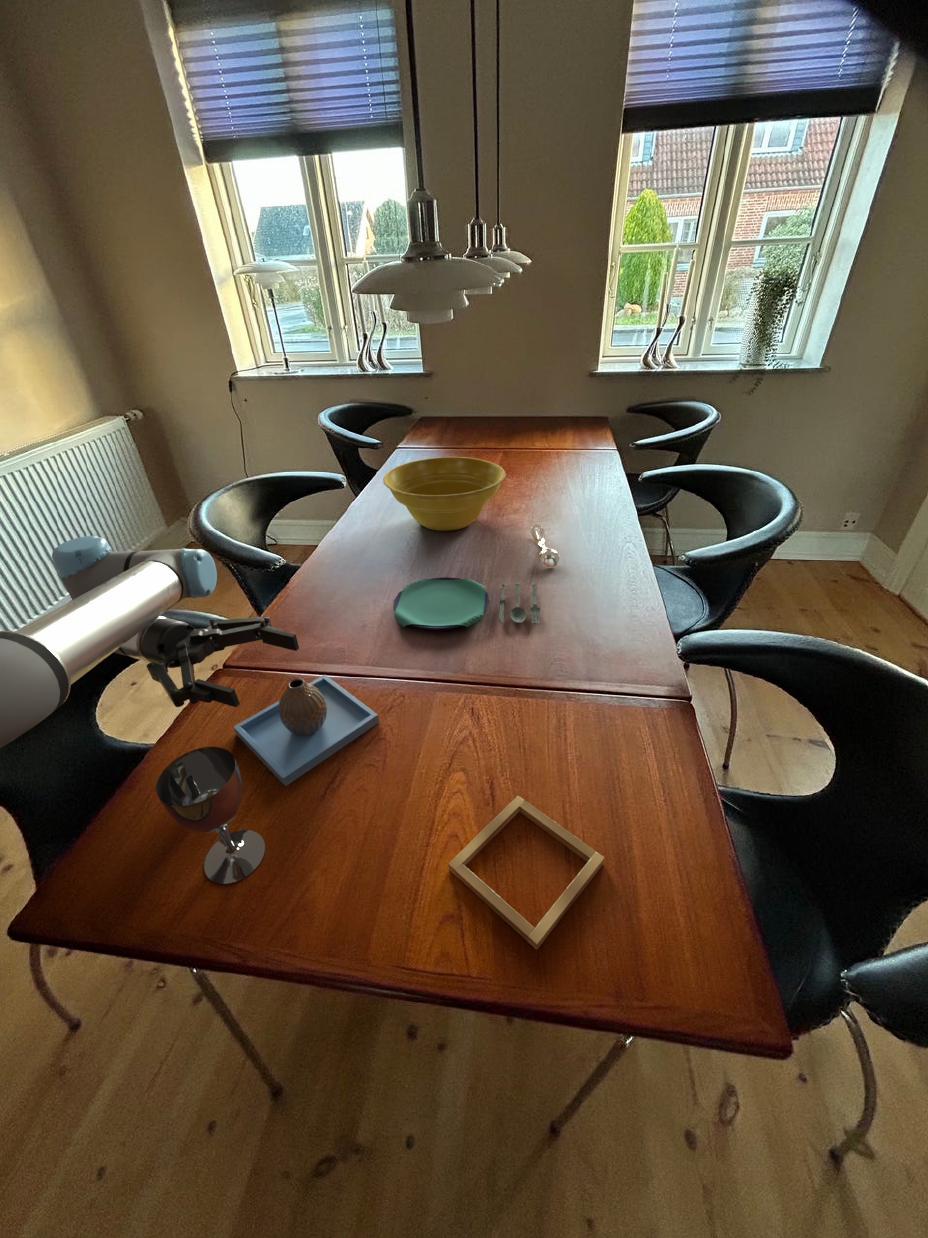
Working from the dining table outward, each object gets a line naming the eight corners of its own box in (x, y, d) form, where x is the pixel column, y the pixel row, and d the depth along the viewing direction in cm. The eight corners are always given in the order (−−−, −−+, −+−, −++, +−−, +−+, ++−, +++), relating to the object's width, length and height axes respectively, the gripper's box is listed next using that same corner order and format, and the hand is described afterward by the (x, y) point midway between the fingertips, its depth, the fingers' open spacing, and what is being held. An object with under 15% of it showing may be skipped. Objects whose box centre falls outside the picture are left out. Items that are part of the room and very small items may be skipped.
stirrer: (527, 518, 137) (545, 517, 137) (526, 530, 139) (544, 529, 139) (541, 558, 121) (562, 556, 121) (540, 571, 123) (561, 570, 123)
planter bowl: (405, 498, 163) (400, 454, 155) (510, 501, 158) (510, 456, 150) (373, 544, 136) (366, 494, 129) (498, 549, 131) (498, 497, 124)
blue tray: (285, 786, 73) (282, 778, 72) (236, 734, 82) (233, 726, 81) (379, 722, 83) (378, 714, 82) (326, 681, 92) (324, 674, 91)
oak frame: (536, 950, 55) (537, 945, 54) (448, 869, 62) (447, 864, 62) (603, 863, 62) (604, 857, 62) (517, 801, 70) (518, 795, 69)
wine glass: (185, 876, 63) (137, 795, 54) (229, 820, 69) (193, 740, 61) (241, 896, 61) (200, 814, 52) (281, 836, 67) (251, 755, 58)
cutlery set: (402, 584, 119) (401, 575, 118) (537, 585, 116) (537, 575, 115) (385, 635, 102) (384, 626, 101) (541, 638, 100) (542, 628, 99)
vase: (301, 706, 86) (289, 664, 81) (338, 715, 84) (329, 673, 79) (275, 736, 80) (261, 693, 76) (314, 747, 78) (302, 703, 74)
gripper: (223, 619, 96) (321, 641, 90) (100, 709, 77) (213, 746, 70) (211, 583, 92) (312, 604, 85) (78, 669, 73) (195, 705, 66)
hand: (267, 668), depth 78 cm, fingers open, 13 cm apart
